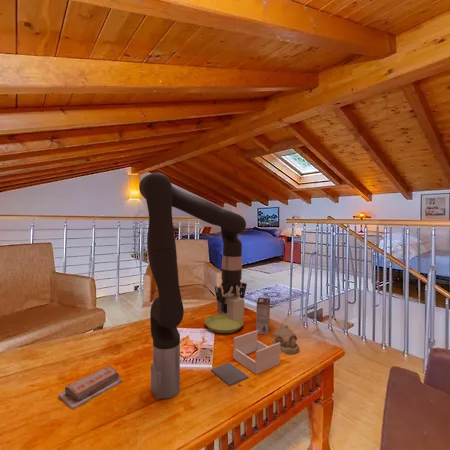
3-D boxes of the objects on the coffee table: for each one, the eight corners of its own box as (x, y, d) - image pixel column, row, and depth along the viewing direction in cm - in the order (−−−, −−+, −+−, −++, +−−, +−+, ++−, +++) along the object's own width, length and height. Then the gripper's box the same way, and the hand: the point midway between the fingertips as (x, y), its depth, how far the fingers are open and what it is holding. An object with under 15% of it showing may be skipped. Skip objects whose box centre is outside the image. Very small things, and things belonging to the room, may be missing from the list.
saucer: (199, 322, 160) (199, 317, 160) (232, 317, 169) (232, 311, 169) (214, 338, 141) (214, 332, 141) (250, 331, 150) (250, 325, 150)
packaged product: (106, 361, 112) (122, 370, 106) (107, 373, 112) (122, 383, 106) (57, 384, 97) (72, 396, 91) (57, 398, 97) (72, 411, 92)
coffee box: (257, 326, 157) (258, 296, 155) (269, 327, 155) (270, 297, 154) (255, 333, 148) (256, 302, 146) (268, 334, 146) (269, 303, 145)
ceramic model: (267, 342, 139) (268, 321, 138) (286, 337, 144) (287, 318, 143) (285, 356, 126) (286, 334, 126) (305, 351, 131) (306, 329, 130)
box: (233, 320, 105) (233, 301, 104) (217, 312, 113) (217, 294, 112) (243, 317, 108) (244, 299, 107) (227, 309, 116) (228, 292, 115)
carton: (256, 374, 112) (256, 352, 112) (233, 358, 124) (233, 337, 123) (279, 363, 120) (280, 342, 119) (256, 349, 131) (256, 330, 131)
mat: (229, 386, 105) (229, 384, 105) (211, 370, 114) (211, 369, 114) (248, 377, 110) (248, 376, 110) (229, 363, 120) (229, 362, 120)
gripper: (222, 271, 102) (220, 318, 103) (252, 267, 110) (251, 310, 111) (210, 267, 108) (209, 312, 109) (240, 263, 116) (238, 305, 117)
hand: (230, 311), depth 110 cm, fingers closed on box, 5 cm apart
